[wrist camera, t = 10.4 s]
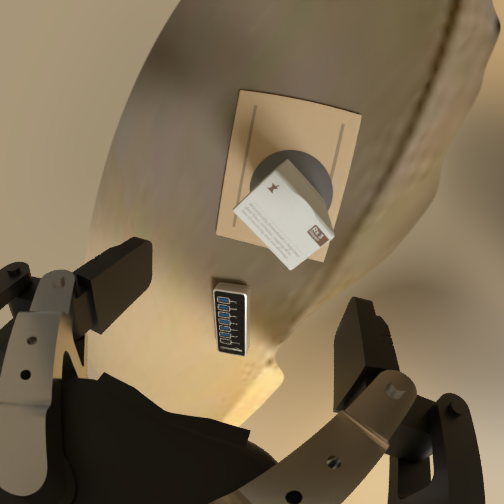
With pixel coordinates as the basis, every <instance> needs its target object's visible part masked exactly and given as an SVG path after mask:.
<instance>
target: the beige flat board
mask: <svg viewBox="0 0 504 504" xmlns="http://www.w3.org/2000/svg"><path fill="white" fill-rule="evenodd" d="M361 117H362V115H359V114H355V113H352V112H348V111H345V110H341V109H337V108H334V107H330V106H326V105H322V104H317V103H313V102H308V101H304V100H299V99H294V98H289V97H283V96H278V95H272V94H265V93H259V92H251V91H243V90H240V94H239V99H238V104H237V109H236V115H235V120H234V125H233V131H232V136H231V142H230V148H229V154H228V160H227V166H226V172H225V178H224V184H223V190H222V197H221V203H220V210H219V217H218V224H217V231H216V235H220V236H224V237H228V238H232V239H236V240H240V241H243V242H247V243H251V244H255V245H259V246H263V247H267V246H266V245H265V244H264V243H263V242H262V241H261V240H260V239H259V238H258V237H257V236H256V235H255V233H254V232H253V231H252V230H251V229H250V228H249V227H248V226H247V225H246V224H245V223H244V222H243V221H242V220H241V219H240V218H239V217H238V216H237V215H236V214H235V213H234V212H233V208H234V207H235V206H236V205H237V204H238V203H239V202H240V201H242V200H243V199H244V198H245V197H246V196H247V195H248V194H249V193H250V192H251V191H252V190H253V189H254V188H255V187H256V186H257V185H258V184H259V183H260V182H261V181H262V180H263V179H264V178H265V177H266V176H268V175H269V174H270V173H271V172H272V171H273V170H274V169H276V168H277V167H278V166H279V165H280V164H282V163H283V162H284V161H285V160H287V159H288V160H289V161H290V162H291V163H292V164H293V165H294V166H295V167H296V168H297V169H298V170H299V171H300V172H301V174H302V175H303V176H304V177H305V178H306V179H307V180H308V181H309V183H310V184H311V185H312V186H313V187H314V188H315V189H316V191H317V192H318V193H319V194H320V195H321V196H322V198H323V199H324V201H325V205H326V208H327V211H328V214H329V217H330V221H331V224H332V228H333V229H334V226H335V222H336V219H337V215H338V212H339V208H340V205H341V201H342V197H343V194H344V190H345V186H346V182H347V178H348V174H349V170H350V166H351V162H352V158H353V154H354V149H355V145H356V140H357V136H358V131H359V127H360V122H361ZM329 243H330V241H329V242H327V243H326V244H325V245H323V246H322V247H321V248H320V249H318V250H317V251H316V252H314V253H313V254H312V255H310V256H309V257H308V258H309V259H313V260H316V261H320V262H324V259H325V256H326V252H327V249H328V246H329ZM267 248H268V247H267Z"/></svg>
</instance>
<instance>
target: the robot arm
mask: <svg viewBox="0 0 504 504" xmlns="http://www.w3.org/2000/svg"><path fill="white" fill-rule="evenodd" d="M151 279H152V243H151V242H150V241H148V240H144V239H141V238H138V237H132V238H130V239H129V240H127V241H125V242H124V243H122V244H121V245H118V246H115V247H112V248H109V249H108V250H106V251H104V252H103V253H101V255H98V256H97V257H95V259H92V260H90V261H89V262H87V263H86V264H84V265H83V266H81V267H80V268H78V269H77V270H75V271H74V272H70V271H67V270H54V271H51V272H49V273H47V274H45V275H44V276H43V277H42V278H36V277H31V273H30V269H29V266H28V264H26V263H24V262H15V263H11V264H9V265H7V266H5V267H4V268H2V269H1V270H0V309H2V308H3V307H4V306H5V305H6V304H9V307H10V310H11V313H12V316H13V319H12V320H10V321H9V322H8V323H7V324H6V325H5V326H4V327H3V328H2V329H0V504H341V503H342V502H343V501H344V500H345V499H346V498H347V497H348V496H349V495H350V494H351V493H352V492H353V491H354V489H355V488H356V487H357V486H358V485H359V484H360V483H361V482H362V480H363V479H364V478H365V477H366V476H367V474H368V473H369V472H370V471H371V470H372V469H373V467H374V466H375V465H376V464H377V462H378V461H379V460H380V458H381V457H382V456H383V454H384V453H385V454H388V455H390V471H389V493H388V504H485V492H484V482H483V474H482V467H481V460H480V454H479V449H478V444H477V439H476V434H475V430H474V426H473V422H472V418H471V414H470V410H469V408H468V405H467V404H466V402H465V401H464V400H463V399H462V398H461V397H459V396H458V395H456V394H452V393H446V394H443V395H442V396H441V397H440V398H439V399H438V400H437V401H436V402H434V401H431V400H429V399H426V398H424V397H421V396H419V395H417V390H416V387H415V385H414V383H413V381H412V380H411V379H410V378H409V377H408V376H406V375H405V374H403V373H402V372H400V370H399V365H398V361H397V357H396V353H395V349H394V346H393V342H392V338H390V337H391V335H390V331H389V328H388V325H387V324H386V323H385V321H384V320H383V319H382V317H380V316H376V314H375V310H374V307H373V303H372V301H370V300H365V299H361V298H358V297H352V298H351V300H350V302H349V304H348V306H347V309H346V311H345V313H344V315H343V318H342V320H341V322H340V325H339V327H338V329H337V331H336V335H335V340H334V408H333V412H337V413H338V414H337V415H336V416H335V417H334V418H333V419H332V420H331V421H329V422H328V423H327V424H326V425H325V426H324V427H323V428H322V429H320V430H319V431H318V432H317V433H316V434H315V435H313V436H312V437H311V438H310V439H309V440H307V441H306V442H305V443H304V444H302V445H301V446H300V447H299V448H297V449H296V450H295V451H293V452H292V453H291V454H290V455H288V456H287V457H286V458H284V459H283V460H282V461H280V462H279V463H278V462H277V461H276V460H274V458H273V457H272V456H271V455H269V454H268V453H267V452H266V451H264V450H263V449H262V448H260V447H258V446H257V445H255V444H254V443H251V442H250V441H248V437H249V434H250V430H247V429H243V428H239V427H236V426H232V425H229V424H226V423H223V422H219V421H216V420H213V419H210V418H201V417H194V416H187V415H181V414H175V413H170V412H167V411H164V410H163V409H161V408H160V407H159V406H157V405H156V404H155V403H153V402H152V401H151V400H149V399H148V398H147V397H146V396H144V395H143V394H142V393H140V392H139V391H138V390H137V389H135V388H134V387H132V386H130V385H128V384H126V383H124V382H122V381H120V380H118V379H116V378H114V377H112V376H110V375H108V374H107V373H105V372H104V373H103V374H102V376H101V377H100V378H99V379H98V380H93V379H88V373H87V372H88V370H87V357H88V336H87V331H88V330H90V329H91V330H93V331H95V332H97V333H99V334H102V333H103V332H104V331H105V330H106V329H107V328H108V327H109V326H110V325H111V324H112V323H113V322H114V321H115V320H116V319H117V318H118V317H119V316H120V315H121V314H122V313H123V312H124V311H125V310H126V309H127V308H128V307H129V306H130V305H131V304H132V303H133V302H134V301H135V300H136V299H137V298H138V297H139V296H140V295H141V294H142V293H143V292H144V291H145V290H146V289H147V288H148V287H149V285H150V283H151ZM432 454H433V463H434V476H433V479H432V481H431V474H430V459H429V456H430V455H432Z"/></svg>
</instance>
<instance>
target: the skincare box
mask: <svg viewBox="0 0 504 504" xmlns="http://www.w3.org/2000/svg"><path fill="white" fill-rule="evenodd" d="M233 212H234V213H235V214H236V215H237V216H238V217H239V218H240V219H241V220H242V221H243V222H244V223H245V224H246V225H247V226H248V227H249V228H250V229H251V230H252V231H253V232H254V233H255V235H256V236H257V237H258V238H259V239H260V240H261V241H262V242H263V243H264V244H265V245H266V246H267V247H268V248H269V249H270V250H271V251H272V252H273V253H274V254H275V255H276V256H277V257H278V258H279V259H280V260H281V261H282V262H283V263H284V264H285V265H286V266H287V268H288V269H289V270H292V269H294V268H295V267H296V266H298V265H299V264H300V263H301V262H303V261H304V260H305V259H307V258H308V257H309V256H310V255H312V254H313V253H314V252H316V251H317V250H318V249H320V248H321V247H322V246H323V245H325V244H326V243H327V242H329V241H330V240H331V239H333V238H334V236H335V235H334V231H333V228H332V224H331V221H330V217H329V214H328V211H327V208H326V205H325V201H324V199H323V198H322V196H321V195H320V194H319V193H318V192H317V191H316V189H315V188H314V187H313V186H312V185H311V184H310V183H309V181H308V180H307V179H306V178H305V177H304V176H303V175H302V174H301V172H300V171H299V170H298V169H297V168H296V167H295V166H294V165H293V164H292V163H291V162H290V161H289V160H288V159H287V160H285V161H284V162H283V163H282V164H280V165H279V166H278V167H277V168H276V169H274V170H273V171H272V172H271V173H270V174H269V175H268V176H266V177H265V178H264V179H263V180H262V181H261V182H260V183H259V184H258V185H257V186H256V187H255V188H254V189H253V190H252V191H251V192H250V193H249V194H248V195H247V196H246V197H245V198H244V199H243V200H242V201H240V202H239V203H238V204H237V205H236V206H235V207H234V208H233Z"/></svg>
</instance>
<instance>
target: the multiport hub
mask: <svg viewBox="0 0 504 504" xmlns="http://www.w3.org/2000/svg"><path fill="white" fill-rule="evenodd" d="M213 300H214V315H215V328H216V340H217V350H218V351H219V352H222V353H227V354H232V355H238V356H244V357H245V356H246V355H247V352H248V350H249V347H250V287H249V286H247V285H239V284H231V283H224V282H219V283H218V284H217V286H216V287H215V289H214V290H213Z"/></svg>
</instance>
